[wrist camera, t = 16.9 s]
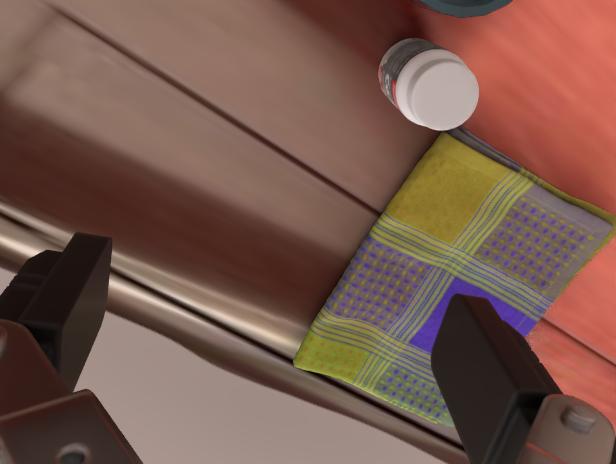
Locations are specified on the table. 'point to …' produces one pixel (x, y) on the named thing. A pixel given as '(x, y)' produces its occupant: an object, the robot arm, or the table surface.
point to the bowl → (462, 6)
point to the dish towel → (449, 268)
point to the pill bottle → (428, 84)
